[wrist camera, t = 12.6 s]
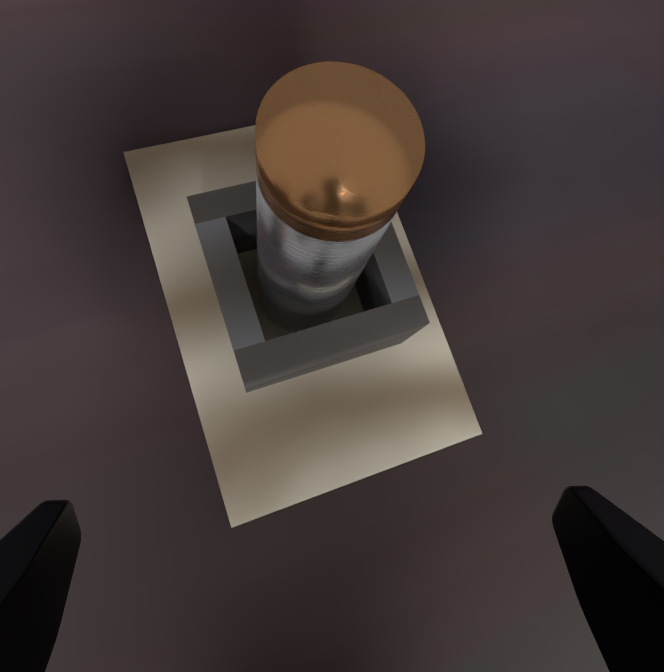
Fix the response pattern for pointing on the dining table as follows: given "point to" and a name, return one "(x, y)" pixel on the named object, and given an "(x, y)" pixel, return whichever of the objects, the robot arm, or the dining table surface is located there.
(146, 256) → the dining table surface
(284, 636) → the dining table surface
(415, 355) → the block
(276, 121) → the pin
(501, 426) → the dining table surface
